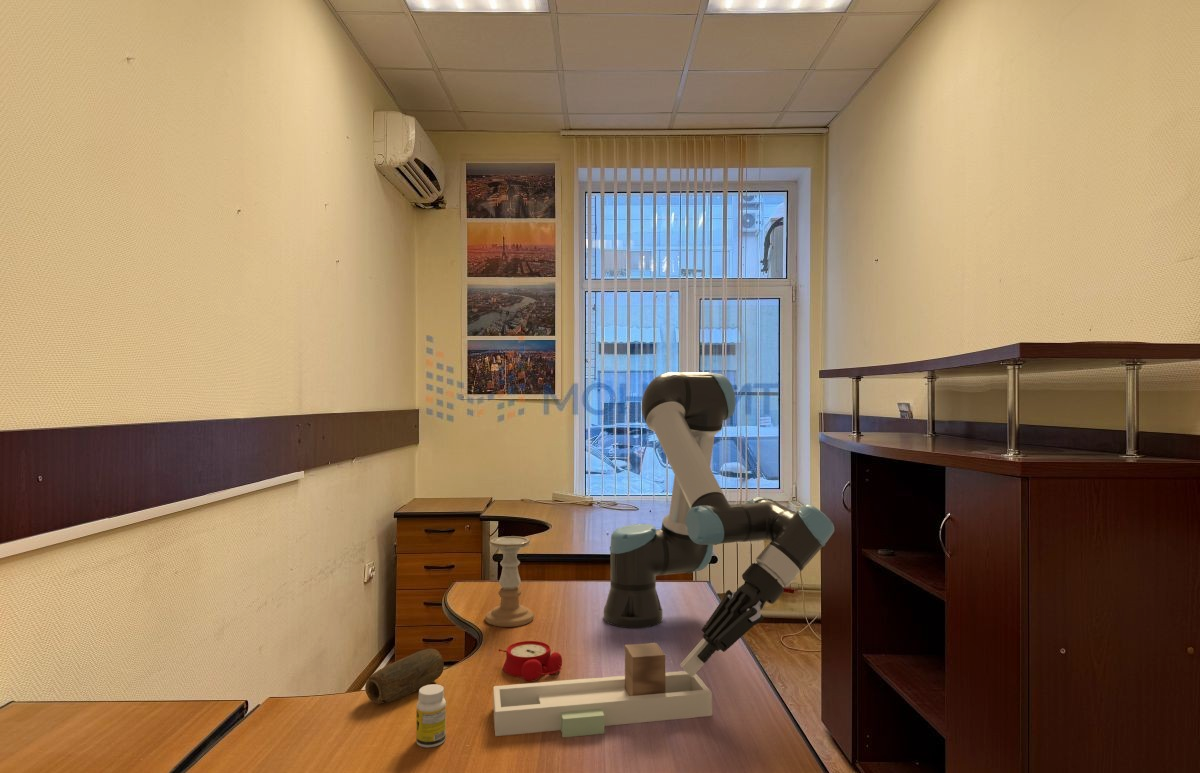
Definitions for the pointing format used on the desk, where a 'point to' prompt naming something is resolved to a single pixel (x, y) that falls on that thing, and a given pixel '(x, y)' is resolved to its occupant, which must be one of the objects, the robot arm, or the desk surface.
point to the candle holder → (509, 585)
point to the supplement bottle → (431, 716)
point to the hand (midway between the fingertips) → (686, 671)
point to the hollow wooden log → (404, 676)
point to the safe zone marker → (582, 722)
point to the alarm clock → (531, 660)
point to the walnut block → (644, 669)
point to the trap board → (596, 702)
